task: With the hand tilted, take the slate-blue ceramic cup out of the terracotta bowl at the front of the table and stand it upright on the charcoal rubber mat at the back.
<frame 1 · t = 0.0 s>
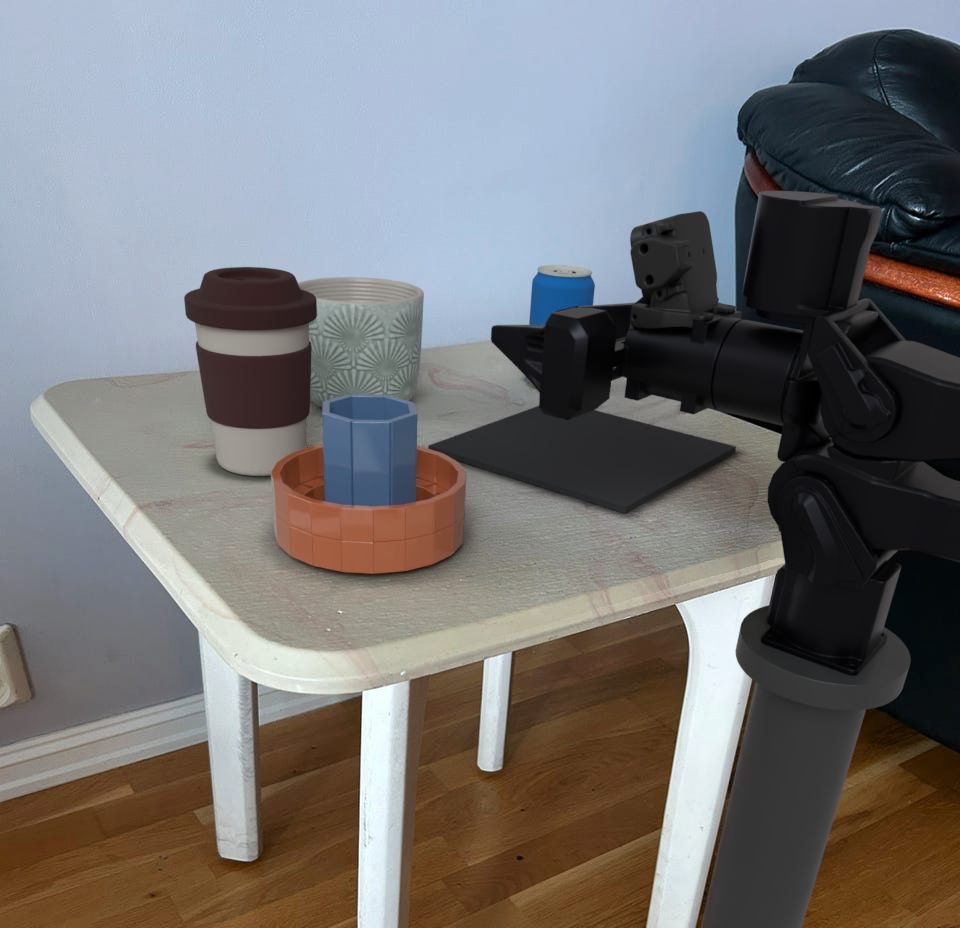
hand: (531, 323, 70), 14 cm above the table, tool horizontal, fingers open, 9 cm apart
beverage can: (554, 388, 107), on the table
bowl: (370, 538, 70), on the table
mat: (585, 452, 88), on the table
blue cup: (370, 532, 70), resting on bowl
coffee cup: (262, 465, 82), on the table
planter: (359, 405, 98), on the table
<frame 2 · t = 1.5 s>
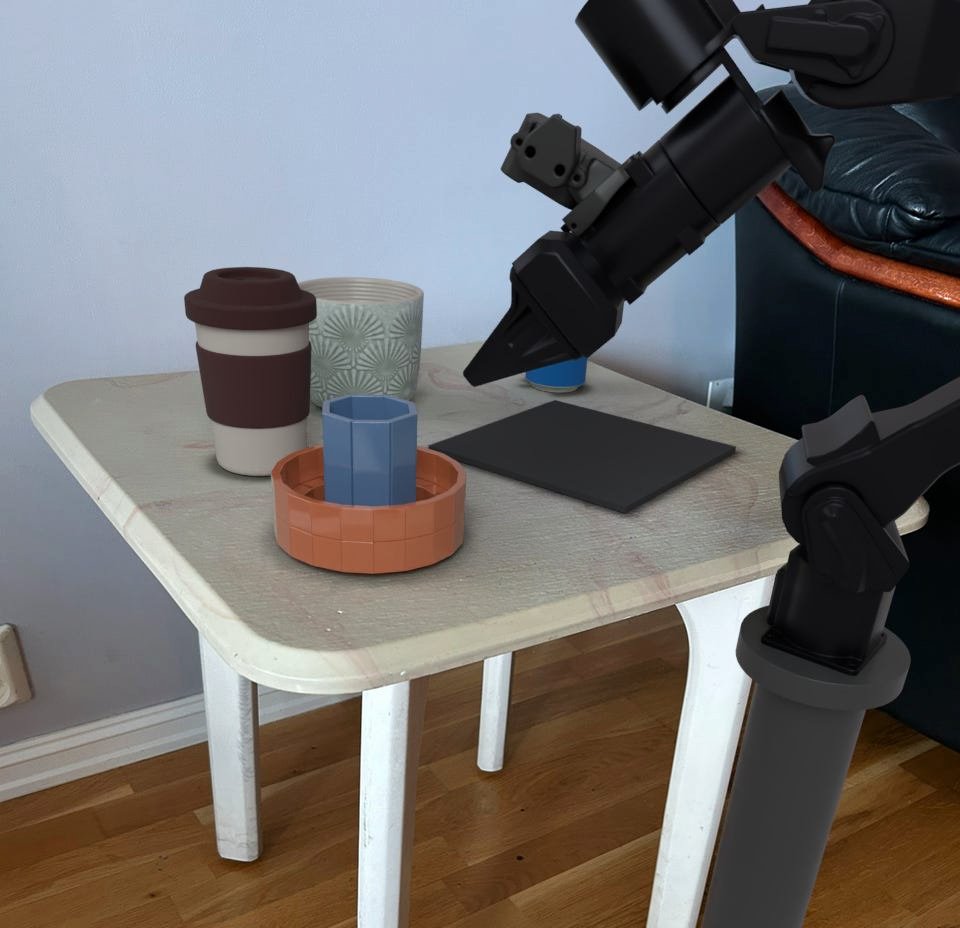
hand: (485, 361, 62), 13 cm above the table, tool tilted 45°, fingers open, 9 cm apart
nothing on the table moved.
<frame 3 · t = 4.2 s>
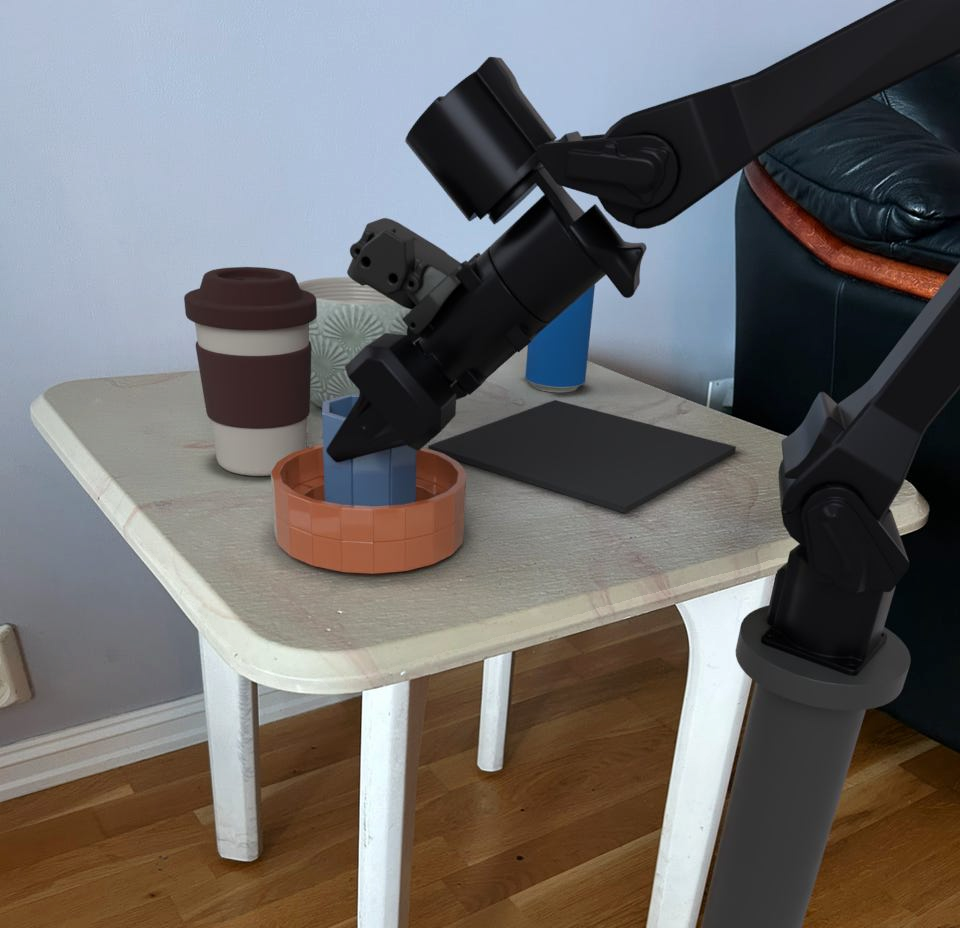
hand: (350, 439, 67), 7 cm above the table, tool tilted 45°, fingers closed on blue cup, 6 cm apart
blue cup: (370, 532, 70), point 1 cm above the table, touching bowl, gripper
everything else where it was.
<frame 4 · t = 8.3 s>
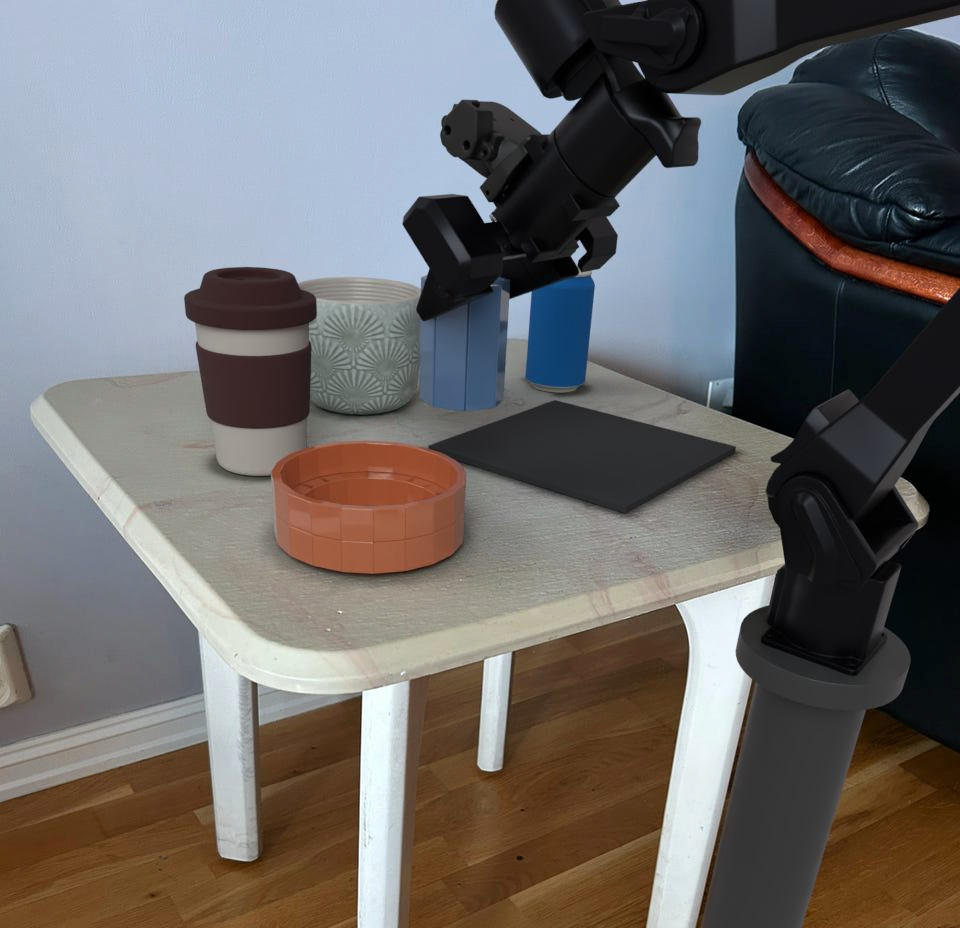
hand: (451, 309, 74), 13 cm above the table, tool tilted 45°, fingers closed on blue cup, 6 cm apart
blue cup: (461, 399, 77), point 7 cm above the table, touching gripper
everything else where it was.
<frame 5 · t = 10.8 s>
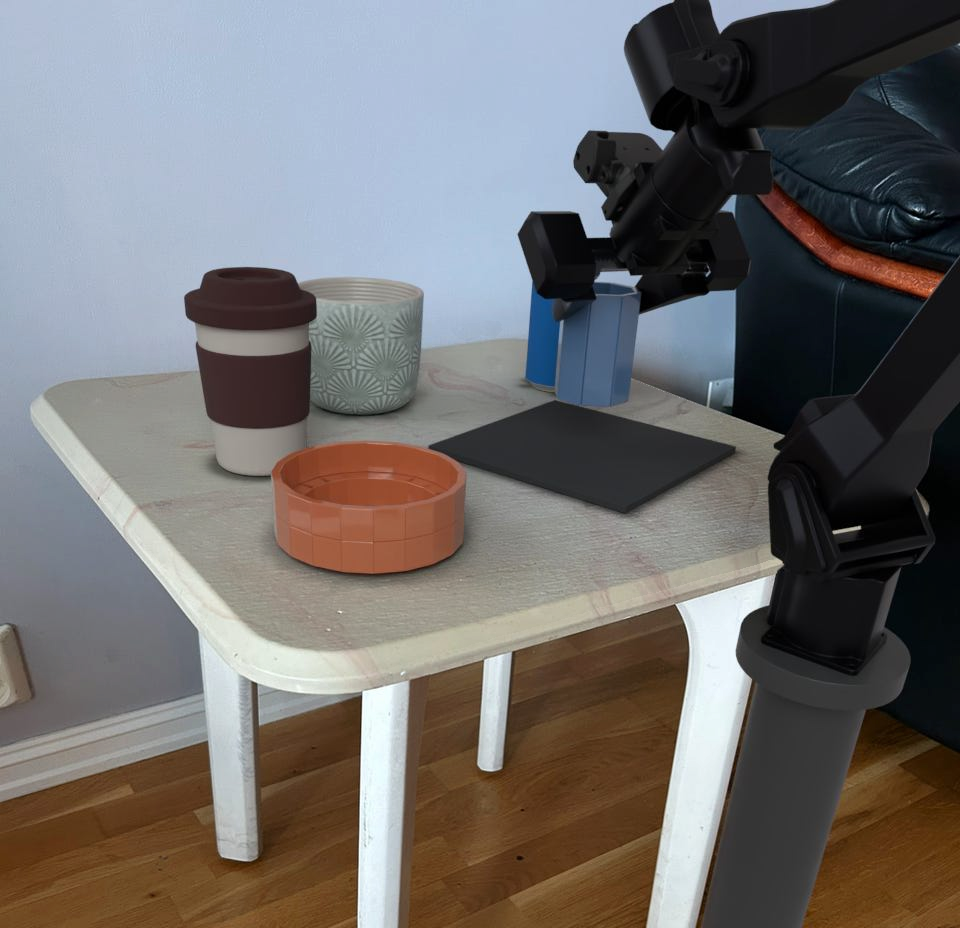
hand: (590, 315, 83), 12 cm above the table, tool tilted 45°, fingers closed on blue cup, 6 cm apart
blue cup: (591, 396, 86), point 5 cm above the table, touching gripper
everything else where it was.
when the fingers open (7 cm above the table, at t = 12.7 s): blue cup stays where it is, resting on mat.
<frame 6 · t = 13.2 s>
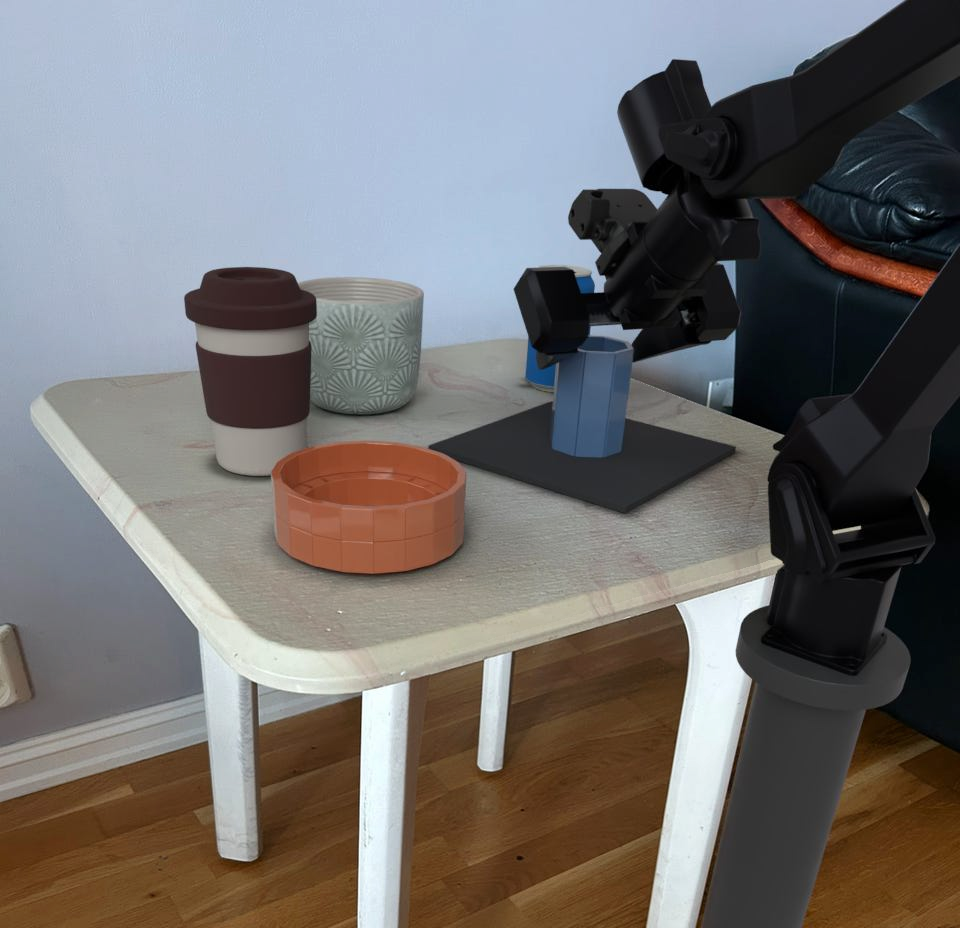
hand: (585, 361, 86), 8 cm above the table, tool tilted 45°, fingers open, 9 cm apart
blue cup: (585, 445, 88), point 1 cm above the table, touching mat
everything else where it was.
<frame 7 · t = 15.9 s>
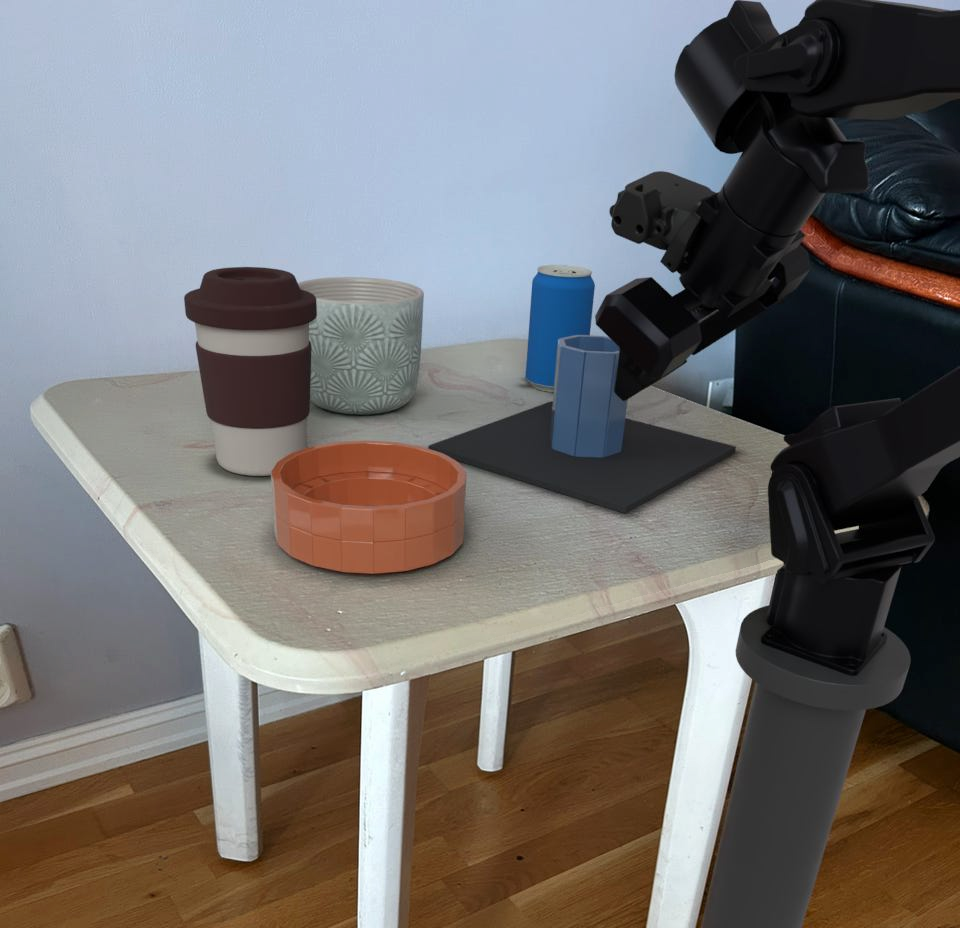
hand: (655, 372, 76), 10 cm above the table, tool tilted 35°, fingers open, 9 cm apart
nothing on the table moved.
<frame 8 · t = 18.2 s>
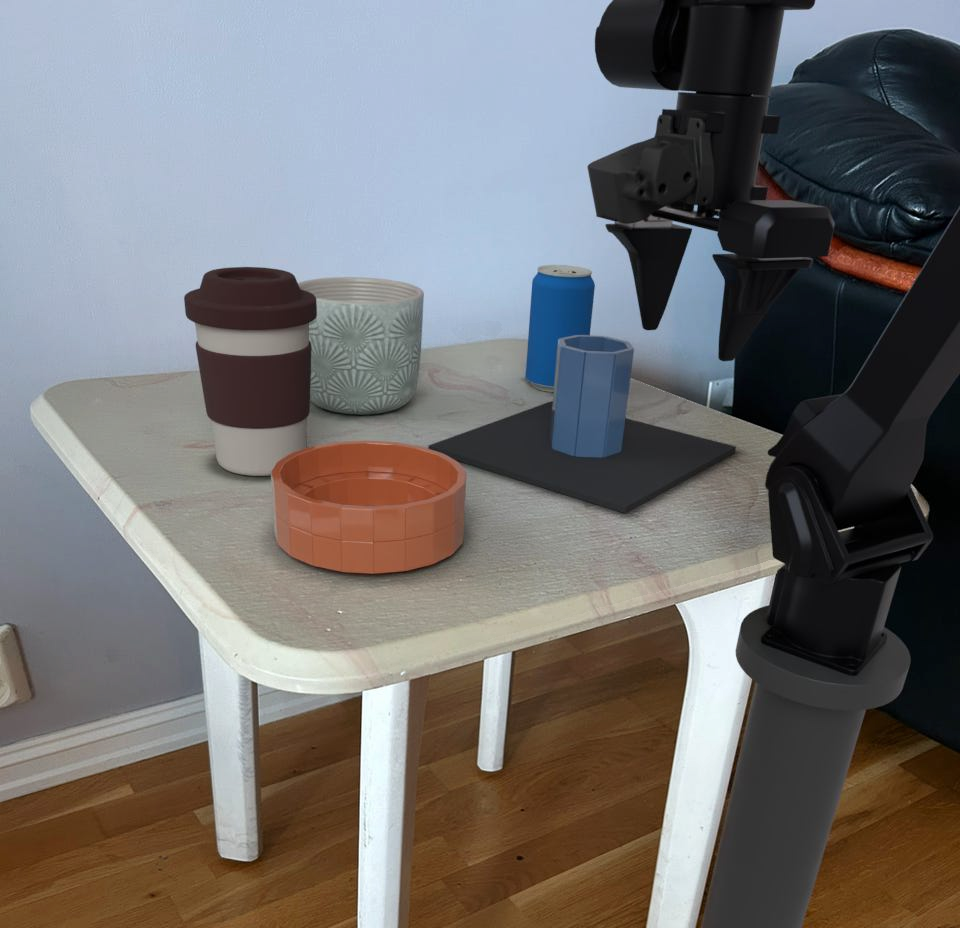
hand: (685, 344, 70), 13 cm above the table, tool pointing down, fingers open, 9 cm apart
nothing on the table moved.
at the end: blue cup inside the target area on the mat (0.0 cm from its centre), point 0.6 cm above the mat's base; blue cup tilted 0°; the gripper is holding nothing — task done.
